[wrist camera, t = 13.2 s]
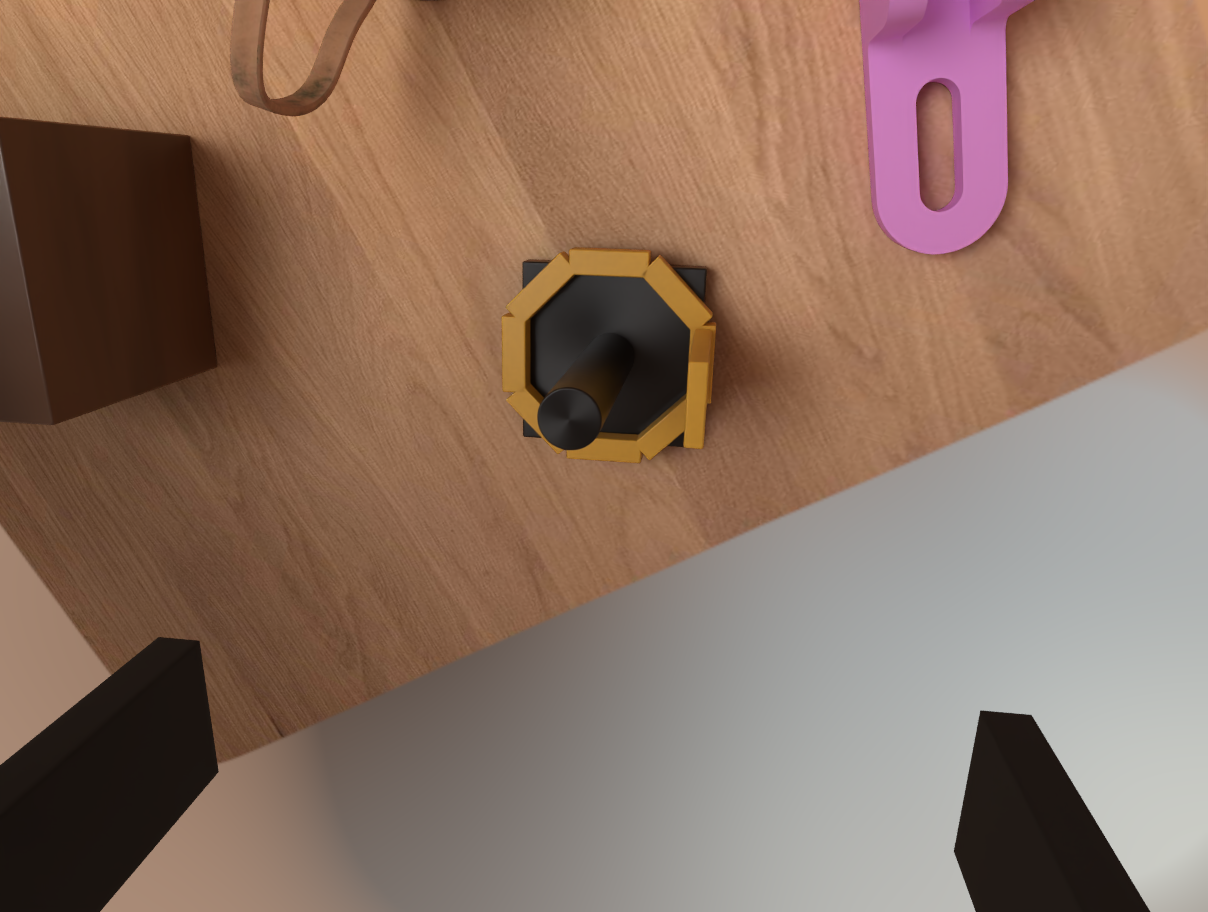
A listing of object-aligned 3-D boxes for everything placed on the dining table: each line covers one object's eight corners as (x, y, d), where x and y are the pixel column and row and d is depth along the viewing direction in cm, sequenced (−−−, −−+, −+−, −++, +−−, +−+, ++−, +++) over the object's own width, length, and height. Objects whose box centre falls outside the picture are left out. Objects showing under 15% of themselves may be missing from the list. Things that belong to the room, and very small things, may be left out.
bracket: (856, -45, 36) (886, -97, 29) (993, -72, 35) (1055, -133, 28) (875, 260, 40) (905, 274, 33) (999, 242, 39) (1056, 253, 32)
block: (53, 358, 47) (-159, 411, 36) (11, 131, 43) (-239, 111, 32) (217, 367, 46) (53, 425, 35) (190, 135, 42) (-5, 115, 31)
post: (527, 430, 45) (453, 524, 32) (527, 259, 42) (445, 289, 29) (695, 441, 44) (685, 542, 31) (707, 266, 41) (700, 300, 28)
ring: (508, 447, 44) (455, 511, 35) (506, 244, 41) (448, 259, 32) (706, 460, 43) (703, 530, 34) (720, 252, 39) (721, 271, 31)
